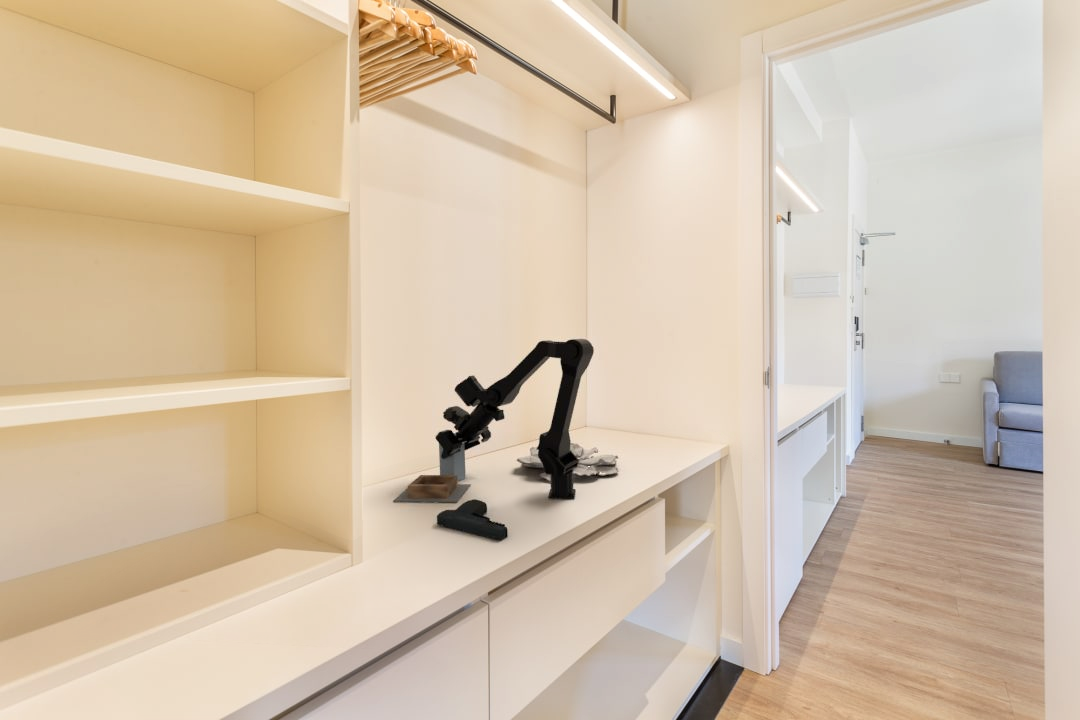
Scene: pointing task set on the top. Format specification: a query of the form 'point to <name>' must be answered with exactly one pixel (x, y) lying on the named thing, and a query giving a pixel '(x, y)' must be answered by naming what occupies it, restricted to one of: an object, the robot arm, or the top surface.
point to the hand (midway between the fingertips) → (448, 455)
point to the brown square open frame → (432, 486)
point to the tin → (453, 463)
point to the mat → (451, 499)
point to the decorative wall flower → (582, 464)
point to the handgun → (472, 520)
